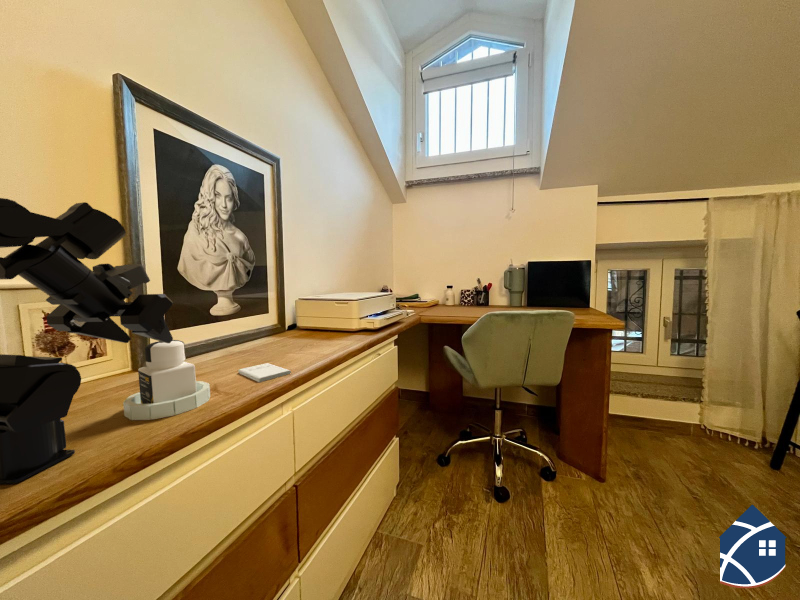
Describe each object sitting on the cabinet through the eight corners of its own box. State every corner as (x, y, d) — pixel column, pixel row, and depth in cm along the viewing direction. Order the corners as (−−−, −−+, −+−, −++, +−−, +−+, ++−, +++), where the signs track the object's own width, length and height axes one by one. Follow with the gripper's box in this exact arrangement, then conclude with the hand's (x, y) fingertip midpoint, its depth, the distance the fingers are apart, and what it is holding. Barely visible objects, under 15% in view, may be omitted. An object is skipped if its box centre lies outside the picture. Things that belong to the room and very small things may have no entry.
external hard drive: (259, 384, 71) (238, 375, 79) (291, 376, 77) (268, 367, 85) (258, 378, 71) (237, 368, 79) (291, 369, 77) (268, 362, 85)
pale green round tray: (176, 419, 52) (175, 405, 52) (105, 420, 52) (103, 406, 52) (223, 391, 65) (222, 380, 65) (165, 392, 65) (164, 381, 65)
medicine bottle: (140, 404, 58) (135, 343, 57) (183, 392, 64) (179, 336, 63) (153, 413, 54) (147, 347, 53) (197, 399, 59) (193, 339, 59)
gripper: (157, 243, 47) (216, 306, 59) (64, 248, 50) (137, 308, 62) (104, 294, 40) (183, 356, 51) (-1, 297, 43) (95, 354, 54)
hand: (149, 341), depth 55 cm, fingers open, 9 cm apart
